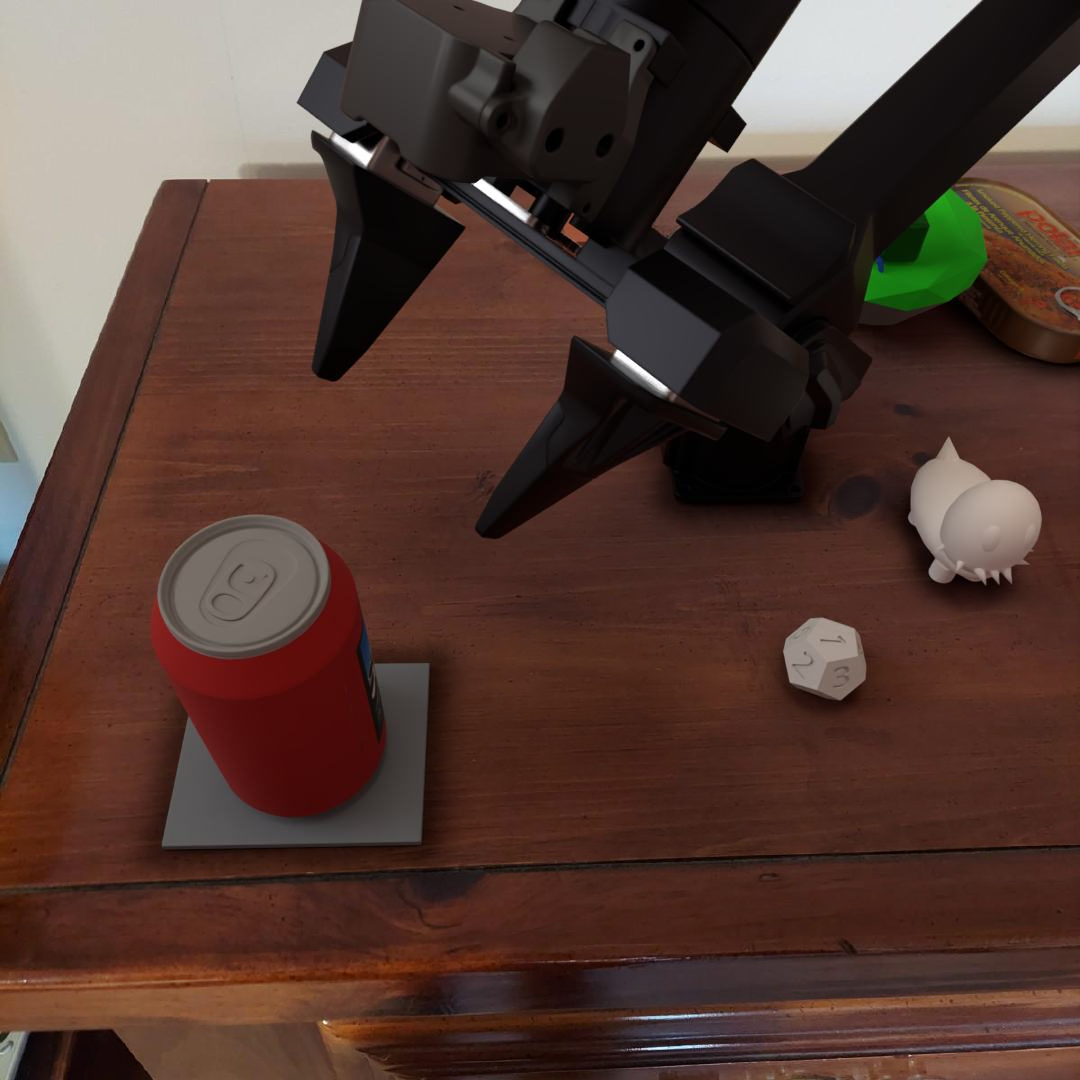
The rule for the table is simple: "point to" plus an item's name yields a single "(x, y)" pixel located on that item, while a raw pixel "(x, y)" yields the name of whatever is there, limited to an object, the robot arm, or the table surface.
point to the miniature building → (926, 263)
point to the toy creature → (971, 519)
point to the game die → (825, 658)
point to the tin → (1025, 271)
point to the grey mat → (363, 820)
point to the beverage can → (272, 662)
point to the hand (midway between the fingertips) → (399, 451)
